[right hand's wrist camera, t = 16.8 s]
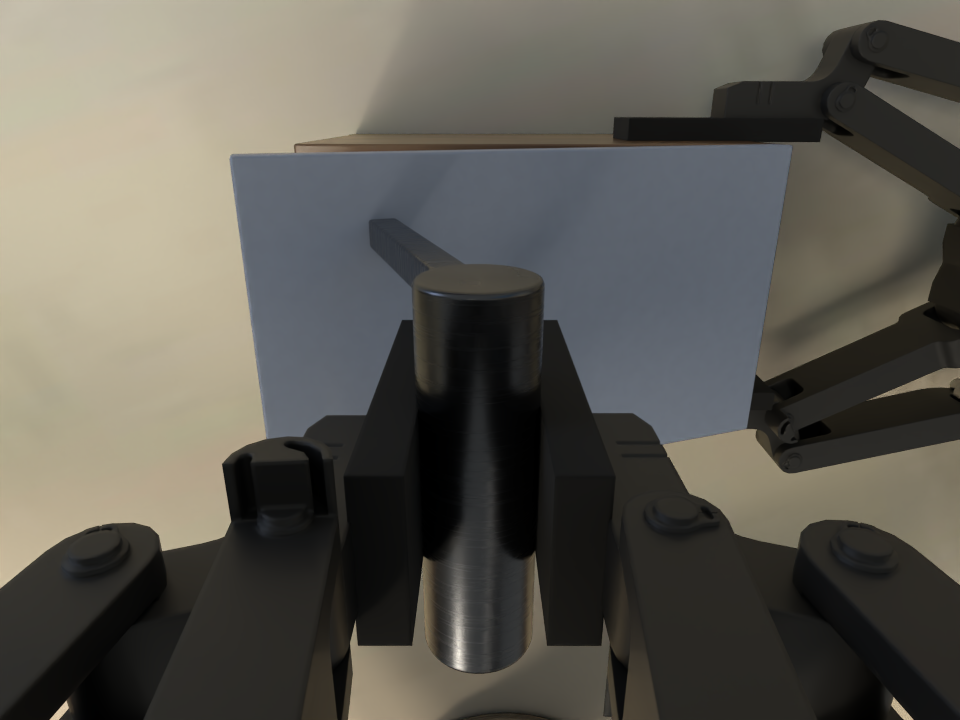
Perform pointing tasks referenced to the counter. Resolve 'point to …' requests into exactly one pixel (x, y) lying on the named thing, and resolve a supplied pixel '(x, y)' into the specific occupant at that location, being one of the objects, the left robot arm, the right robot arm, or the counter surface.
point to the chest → (481, 142)
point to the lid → (506, 322)
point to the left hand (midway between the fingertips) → (610, 267)
